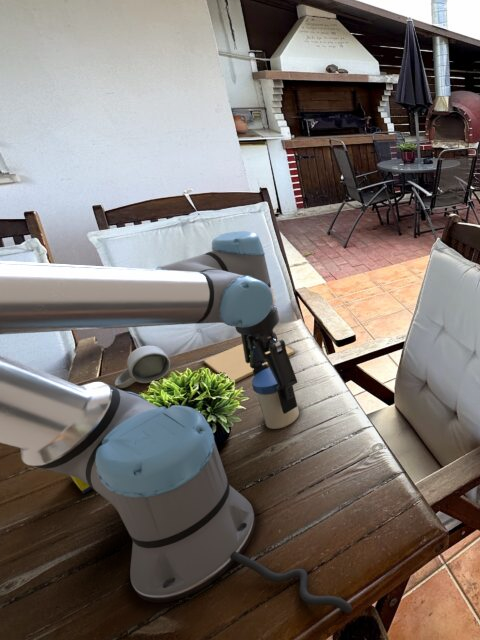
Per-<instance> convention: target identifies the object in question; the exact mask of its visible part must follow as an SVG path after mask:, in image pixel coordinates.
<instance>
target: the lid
mask: <svg viewBox="0 0 480 640" xmlns="http://www.w3.org/2000/svg"><path fill="white" fill-rule="evenodd" d="M251 386H252V390H253V392H255V394H257V393H258V394H270V393H274V392H277V391H276V390H275V388H276V387H277V386H278V384H277V382H276V380H275V378H274V376H273V373H272V371H271V369H270V367H268V368H267V369H264V370H262V371H261V372H259V373H258V374H256V375H255V376H254V375H253V378H252V379H251Z"/></svg>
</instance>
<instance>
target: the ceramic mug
mask: <svg viewBox="0 0 480 640" xmlns="http://www.w3.org/2000/svg"><path fill="white" fill-rule="evenodd" d="M126 365H127V369H125V370H124V371H123V372H121V373H120V374H119V375H118V376H117V378H115V381H114V385H115V386H116V388H118V389H125V388H128V387H130V386H131V385H133V384H134V383H136V382H137V383H140V384H151V383H152V382H151V381H153V380H157V381H159V380H161V379H162V378H165V376H166V375H167V374H168V373H169V371H170V369H171V359H170V358H169V356H168V355H167V354H166V353H165V352H164V350H162V348H160V347H159V346H155V345H142V346H140V347H137V348H136V349H134V350H133V351H132V352H130V353H129V355H128V357H127V361H126ZM129 376H130V377H129ZM128 377H129V378H128Z"/></svg>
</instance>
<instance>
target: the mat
mask: <svg viewBox="0 0 480 640" xmlns="http://www.w3.org/2000/svg"><path fill="white" fill-rule="evenodd" d="M285 346H286V351H287V354H288V357H290V356H292V355H294V354H295V350H294V349H292V348H290V347H288V346H287V345H285ZM268 353H270V351H268V352H266V353H265V354H268ZM203 363H204V364H205V365H207V366H208V367H209V368H211V369H212V370H213V371H214V372H216V373H217V374H218V373H220V372H225V373H226V374H227V376H228V378H230V379H232V380H235V383H237V382H239V381H241V380H243V379H245V378H248V377H249V376H252V375H254V373H253V370H254V368H253V369H252V368H251V367H250V363H247V362H246V361H245V355H244V349H243V343H241V344H238V345H236V346H233V347H231V348H229V349H227V350H225V351H222V352H220V353H217V354H215V355H213V356H211V357H208V358H206V359H204V360H203ZM264 364H267V366H268V367H269V365H268V363H267V362H266V363H263V364H262V365H264Z"/></svg>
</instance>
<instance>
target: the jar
mask: <svg viewBox="0 0 480 640" xmlns="http://www.w3.org/2000/svg"><path fill="white" fill-rule="evenodd" d="M293 390H294V391H295V389H294V388H293ZM294 394H295V392H294ZM256 395H257V399H258V402H259V406H260V409H261V413H262V416H263V420H264V423H265V426H266V427H267V428H268V429H272V430H276V429H282V428H286V427H287V426H289V425H291V424H293V423H294V422H295V421H296V420H297V419H298V417H299V415H300V411H299V406H298V404H297V407H295V408H294V409H292V410H290V411H289V412H287V413H285V414H284V413H283V411H282V407H281V403H280V399H279V395H278V391H277V392H274V393H270V394H258V393H256ZM295 395H296V394H295ZM295 398H296V399H297V397H296V396H295ZM296 402H297V403H298V401H297V400H296Z"/></svg>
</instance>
